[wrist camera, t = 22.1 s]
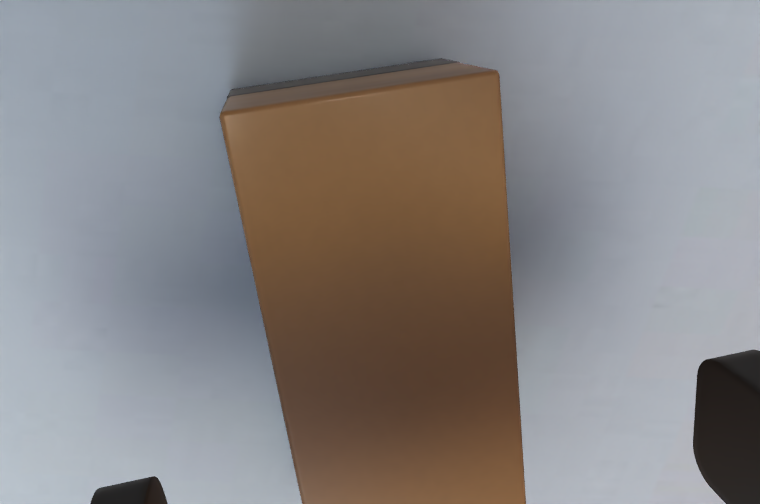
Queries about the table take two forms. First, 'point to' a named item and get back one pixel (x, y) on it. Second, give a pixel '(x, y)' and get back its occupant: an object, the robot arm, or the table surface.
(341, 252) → the eraser
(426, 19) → the table surface
